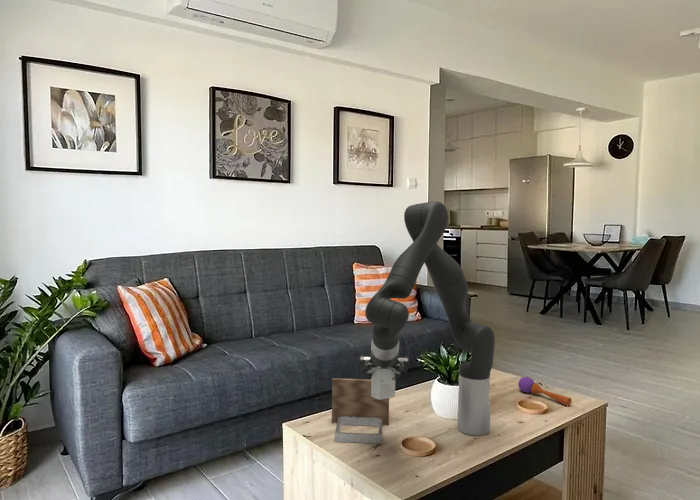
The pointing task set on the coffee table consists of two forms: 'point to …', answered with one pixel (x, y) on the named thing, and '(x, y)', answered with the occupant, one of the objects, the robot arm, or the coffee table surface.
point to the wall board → (357, 400)
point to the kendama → (541, 390)
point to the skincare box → (383, 384)
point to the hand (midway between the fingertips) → (383, 376)
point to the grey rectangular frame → (358, 436)
